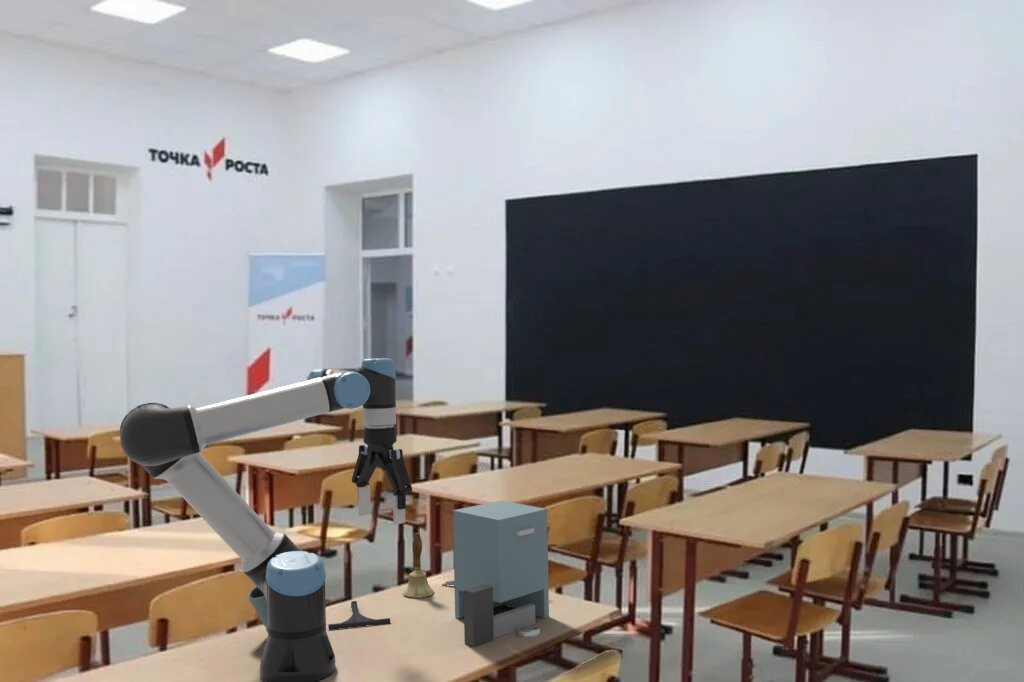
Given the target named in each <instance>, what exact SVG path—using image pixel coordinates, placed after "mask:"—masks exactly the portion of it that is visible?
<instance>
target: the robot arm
mask: <svg viewBox="0 0 1024 682" xmlns="http://www.w3.org/2000/svg"><path fill="white" fill-rule="evenodd" d="M395 364H396V363H395V361H394V360H393V358H387V357H385V358H384V357H382V358H381V357H380V358H379V357H378V358H373V357H372V358H364V359H362V362H361V365H360V367H355V368H353V367H352V368H344V367H343V368H322V369H321V368H320V369H313V370H311V371H310V372H309V374H308V379H307V380H306V381H303V382H297V383H294V384H289V385H286V386H281V387H277V388H273V389H269V390H265V391H261V392H257V393H253V394H249V395H246V396H245V395H244V396H241V397H236V398H232V399H228V400H225V401H221V402H217V403H213V404H210V405H209V404H208V405H204V406H201V407H194V406H192V405H190V404H188V405H187V404H186V405H183V406H179V407H178V406H177V407H173V408H172V407H169V406H167V404H163V403H159V402H146V403H142V404H139V405H137V406H136V407H134V408H133V409H130V410H129V412H128V413H127V414H125V416H124V417H123V419H122V421H121V424H120V426H119V439H120V445H121V448H122V451H123V452H124V454H125V455H126V456H127V458H129V459H130V460H131V461H133V462H134V463H135V464H138V465H141V467H142V468H143V469H144V470H145V471H146V472H147V473H148V474H149V475H150V476H151V477H152V478H153V479H154V480H165V481H167V483H168V484H169V485H170V486H171V487H172V488H173V489H174V490H175V491H176V492H177V493H178V494H179V495H180V496H181V497H182V498H183V500H185V502H186V503H187V504H188V505H190V507H191V508H192V509H193V510H194V511H195V513H197V514H198V515H199V516H200V517H201V518H202V519H203V521H205V523H206V524H207V525H208V526H209V527H210V528H211V529H212V530H213V531H214V532H215V533H216V534H217V535H218V536H219V537H220V539H222V541H223V542H225V544H226V545H228V547H229V548H230V549H231V550H232V551H233V553H235V554H236V555H237V557H238V558H240V560H241V563H240V565H241V566H240V570H241V571H242V573H243V574H245V576H246V577H247V578H248V579H249V580H250V581H251V582H252V583H253V584H254V585H255V586H257V587H258V588H259V589H260V590H261V592H262V593H263V594H264V596H265V598H266V600H267V613H268V632H267V639H266V643H265V645H264V650H263V653H262V657H261V660H260V663H259V677H260V678H261V680H262V681H264V682H319V681H321V680H323V679H326V678H327V677H329V676H331V675H332V674H333V673H334V672H335V671H336V655H335V652H334V649H333V647H332V644H331V641H330V638H329V635H328V633H327V617H326V616H327V615H326V612H327V610H326V607H327V605H326V604H327V603H326V577H327V575H326V573H327V572H326V568H325V562H324V560H323V559H322V557H321V556H320V555H318V554H316V553H313V552H309V551H306V550H305V551H303V550H302V549H301V548H300V547H298V546H297V545H296V544H295V543H294V542H293V541H292V540H291V538H290V537H288V536H287V535H286V533H285V532H284V531H282V530H277V531H276V530H272V529H271V528H270V527H269V526H268V525H267V523H266V522H265V521H264V520H263V519H262V518H261V516H259V515H258V514H257V513H256V511H254V509H253V508H252V507H251V506H250V505H249V504H248V503H247V502H246V500H244V498H243V497H242V496H241V495H240V494H239V493H238V492H237V491H236V490H235V489H234V488H233V486H232V485H231V484H230V483H228V481H227V480H226V479H225V478H224V477H223V476H222V475H221V474H220V473H219V471H218V470H216V468H215V467H214V466H213V465H212V464H211V463H210V462H209V461H208V460H207V459H206V458H205V457H204V455H203V454H202V453H201V452H202V451H203V450H204V449H205V448H206V446H209V445H212V444H216V443H219V442H223V441H228V440H231V439H235V438H237V437H242V436H247V435H249V434H252V433H256V432H260V431H264V430H267V429H268V430H269V429H271V428H274V427H275V428H276V427H279V426H282V425H286V424H290V423H293V422H297V421H301V420H304V419H309V418H312V417H316V416H319V415H320V416H321V415H323V414H327V413H332V412H336V411H340V410H344V409H349V410H352V409H356V408H359V407H362V424H363V425H364V426H365V427H364V428H363V430H362V431H363V433H362V435H363V436H362V437H363V444H360V445H359V446H358V456H357V460H356V462H355V467H354V470H353V474H352V477H351V482H352V484H355V486H356V487H357V499H358V516H366V515H370V514H371V486H370V481H371V478H372V476H373V474H374V473H375V471H376V469H377V468H379V469H381V470H382V471H384V472H385V474H386V477H387V479H388V481H389V483H390V485H391V486H392V488H393V491H394V493H393V494H392V509H393V510H392V513H393V514H392V515H393V518H392V519H393V520H392V521H393V525H395V526H396V525H400V524H404V523H405V524H406V507H407V501H406V500H407V498H406V496H407V494H408V493H411V492H413V486H412V483H411V481H410V477H409V473H408V471H407V467H406V463H405V461H404V453H403V451H404V450H403V449H401V448H399V449H394V444H395V443H397V437H398V433H397V432H398V431H397V427H396V426H395V425H396V424H397V411H396V410H397V409H396V408H397V405H396V404H397V403H396V402H397V401H396V400H397V399H396V397H397V396H396V395H397V391H396V387H397V382H396V381H397V377H396V376H397V375H396V365H395Z"/></svg>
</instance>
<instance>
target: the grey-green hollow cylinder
mask: <svg viewBox="0 0 1024 682" xmlns="http://www.w3.org/2000/svg"><path fill="white" fill-rule="evenodd" d="M247 598H248V600H249V602H250V603H251V605H252V608H253V609H254V610H255V612H256V614H257V616H258V618H259V620H260V621H261V623H262V625H263V626H264V627H265V631H266V632H267V633H268V613H267V600H266V598H265V596H264V594H263V593H262V592H261V590H260V589H259V588H258V587H257V586H256V585H255V586H254V587H253V588H252V589H251V590H250V591H249V592H248V594H247Z"/></svg>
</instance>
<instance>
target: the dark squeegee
mask: <svg viewBox="0 0 1024 682" xmlns="http://www.w3.org/2000/svg"><path fill="white" fill-rule="evenodd" d="M350 608H352V609H351V613H352V615H351V616H350V617H349V618H348V619H346V620H345V621H342V622H339V623H329V624H328V626H327V627H328V631H334V630H333V629H336V630H340V629H339V628H345V629H349V628H348V627H354V628H358V627H357V626H364V627H367V626H366V625H373V626H381V625H391V618H390V617H387V618H379V619H375V618H370V617H367V616H365V615H363V614H362V613H360V612H359V606H358V601H357V600H354V601H353V600H352V601H351V602H350ZM379 624H381V625H379Z"/></svg>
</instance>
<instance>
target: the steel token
mask: <svg viewBox="0 0 1024 682" xmlns="http://www.w3.org/2000/svg"><path fill="white" fill-rule="evenodd" d="M517 635H518V636H519V637H520V636H521V637H520V638H524V637H534V638H536V637H535V636H537V637H539V636H541V629H540V628H539V627H538V626H534V625H531V626H526V627H521V628H519V629H518V630H517ZM538 635H539V636H538Z"/></svg>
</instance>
